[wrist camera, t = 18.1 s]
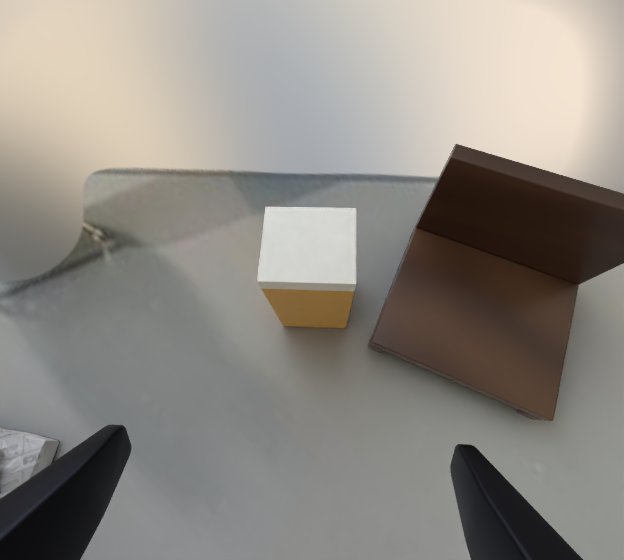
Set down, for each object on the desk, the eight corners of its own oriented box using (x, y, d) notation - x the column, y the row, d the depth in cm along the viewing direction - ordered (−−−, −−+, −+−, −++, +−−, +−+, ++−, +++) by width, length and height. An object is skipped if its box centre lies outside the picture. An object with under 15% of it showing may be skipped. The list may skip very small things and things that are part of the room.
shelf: (532, 419, 20) (678, 431, 12) (367, 346, 22) (390, 312, 14) (561, 282, 23) (693, 213, 15) (413, 229, 25) (455, 143, 17)
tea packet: (346, 328, 23) (356, 284, 14) (282, 326, 23) (256, 281, 15) (346, 275, 24) (356, 207, 16) (287, 274, 24) (265, 206, 16)
